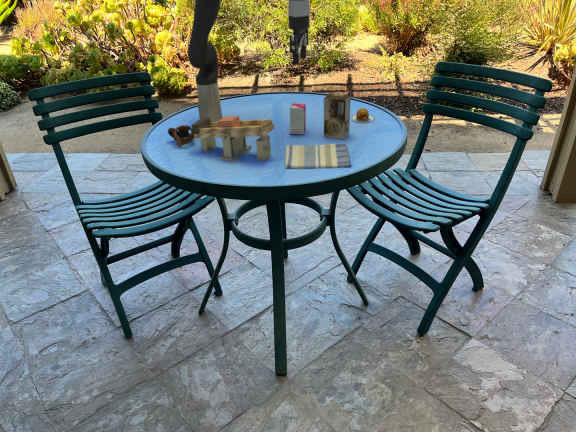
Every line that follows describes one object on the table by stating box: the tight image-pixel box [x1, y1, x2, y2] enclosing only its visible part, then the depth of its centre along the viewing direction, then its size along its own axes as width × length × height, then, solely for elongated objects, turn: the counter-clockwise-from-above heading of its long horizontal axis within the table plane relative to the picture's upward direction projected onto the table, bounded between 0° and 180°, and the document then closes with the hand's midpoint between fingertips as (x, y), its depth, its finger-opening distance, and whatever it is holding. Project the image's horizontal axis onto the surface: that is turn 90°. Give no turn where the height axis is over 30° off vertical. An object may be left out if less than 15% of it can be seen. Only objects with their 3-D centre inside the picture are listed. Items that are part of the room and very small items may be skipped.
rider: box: [218, 115, 241, 128], centre depth 152 cm, size 6×5×4 cm
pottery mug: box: [167, 124, 196, 148], centre depth 168 cm, size 12×10×8 cm
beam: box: [190, 117, 276, 139], centre depth 152 cm, size 30×8×5 cm, turn 65°
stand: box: [199, 133, 272, 163], centre depth 155 cm, size 26×13×10 cm, turn 66°
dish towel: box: [284, 142, 352, 170], centre depth 152 cm, size 17×24×3 cm
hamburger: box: [352, 107, 374, 124], centre depth 182 cm, size 12×12×6 cm
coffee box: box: [323, 92, 351, 140], centre depth 165 cm, size 9×6×16 cm
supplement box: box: [289, 102, 307, 136], centre depth 170 cm, size 6×6×12 cm
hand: (299, 61), depth 157 cm, fingers open, 8 cm apart
